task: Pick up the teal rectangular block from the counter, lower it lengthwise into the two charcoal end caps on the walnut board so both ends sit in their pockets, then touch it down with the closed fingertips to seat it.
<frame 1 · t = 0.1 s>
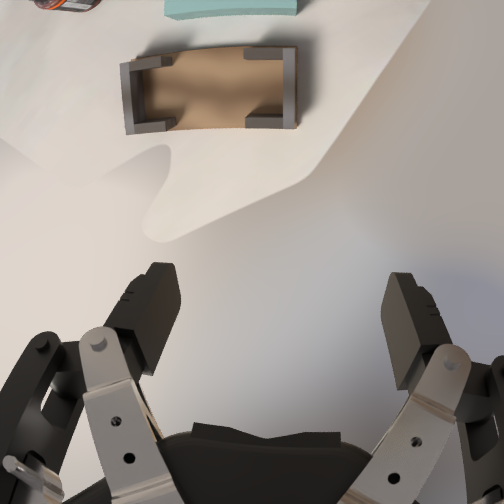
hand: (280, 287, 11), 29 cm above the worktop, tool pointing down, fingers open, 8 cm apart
teal rectangular block: (235, 3, 28), on the worktop
endcap board: (211, 87, 34), on the worktop
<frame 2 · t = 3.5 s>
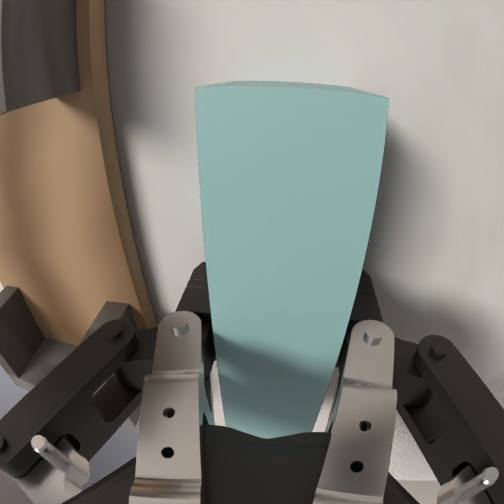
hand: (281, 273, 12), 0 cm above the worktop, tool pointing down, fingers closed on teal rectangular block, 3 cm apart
teal rectangular block: (282, 269, 12), on the worktop, touching gripper
endcap board: (39, 203, 12), on the worktop
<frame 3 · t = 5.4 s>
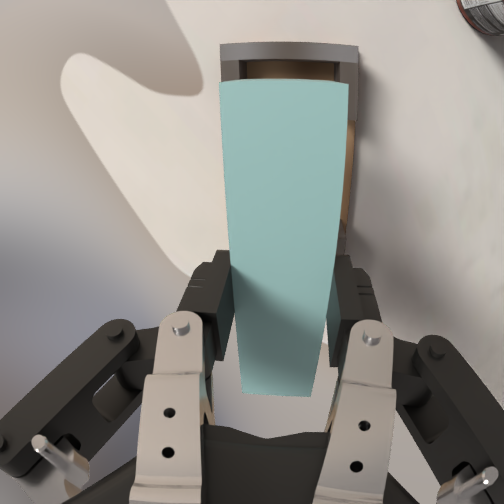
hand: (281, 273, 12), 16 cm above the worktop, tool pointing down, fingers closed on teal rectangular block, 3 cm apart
teal rectangular block: (285, 230, 15), point 12 cm above the worktop, touching gripper
supplement bottle: (479, 6, 15), on the worktop
endcap board: (290, 162, 25), on the worktop
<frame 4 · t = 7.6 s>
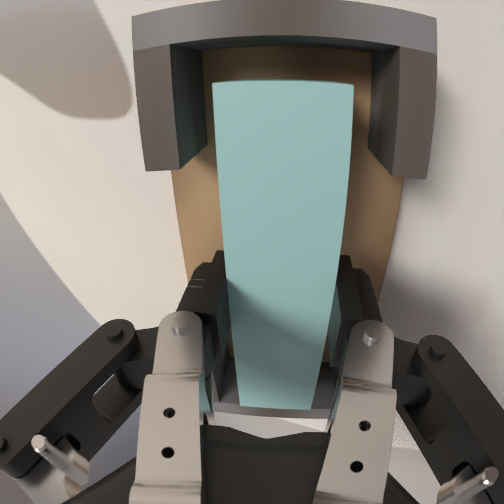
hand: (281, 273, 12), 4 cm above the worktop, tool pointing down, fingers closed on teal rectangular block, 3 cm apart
teal rectangular block: (284, 238, 14), point 1 cm above the worktop, touching endcap board, gripper
endcap board: (286, 231, 15), on the worktop
when the fingers open (3 cm above the worktop, at t = 8.1 s): teal rectangular block stays where it is, resting on endcap board.
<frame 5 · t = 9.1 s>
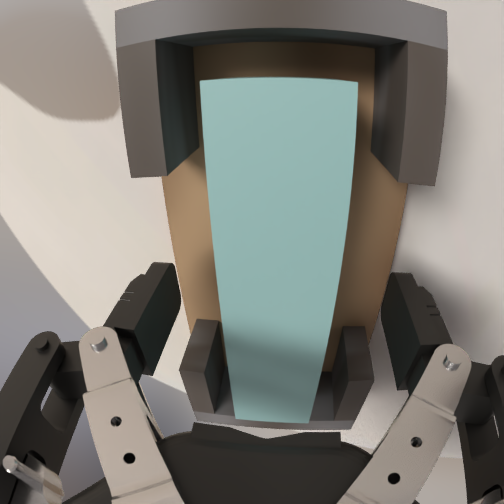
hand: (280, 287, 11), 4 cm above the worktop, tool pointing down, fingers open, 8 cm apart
teal rectangular block: (282, 246, 14), point 1 cm above the worktop, touching endcap board
endcap board: (283, 238, 14), on the worktop
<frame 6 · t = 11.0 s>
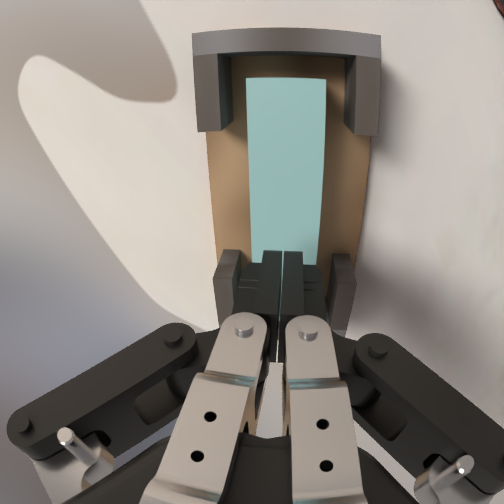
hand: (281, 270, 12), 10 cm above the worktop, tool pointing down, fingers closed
teal rectangular block: (287, 188, 20), point 1 cm above the worktop, touching endcap board
endcap board: (288, 185, 21), on the worktop
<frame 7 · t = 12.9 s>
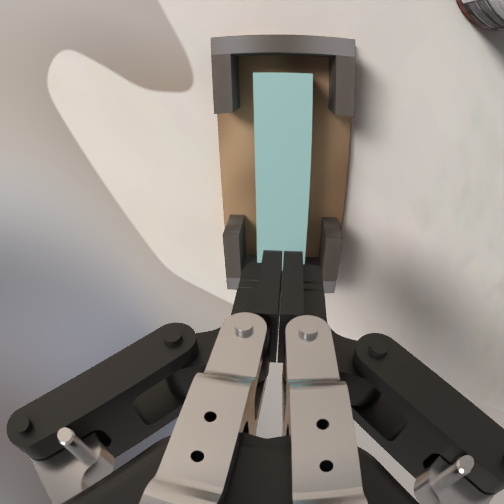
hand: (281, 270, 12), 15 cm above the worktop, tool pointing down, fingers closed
teal rectangular block: (283, 161, 24), point 1 cm above the worktop, touching endcap board
supplement bottle: (477, 0, 14), on the worktop
endcap board: (284, 160, 25), on the worktop
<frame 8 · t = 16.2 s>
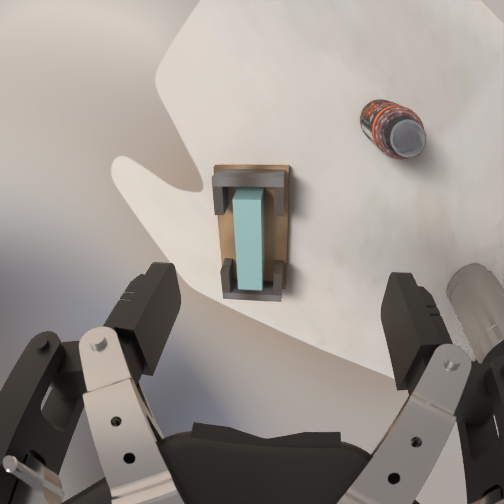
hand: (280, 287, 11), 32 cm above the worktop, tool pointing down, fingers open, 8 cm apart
teal rectangular block: (252, 232, 46), point 1 cm above the worktop, touching endcap board
supplement bottle: (380, 120, 36), on the worktop
endcap board: (253, 230, 47), on the worktop
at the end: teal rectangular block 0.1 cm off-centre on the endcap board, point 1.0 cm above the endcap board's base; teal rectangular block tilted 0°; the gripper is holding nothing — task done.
